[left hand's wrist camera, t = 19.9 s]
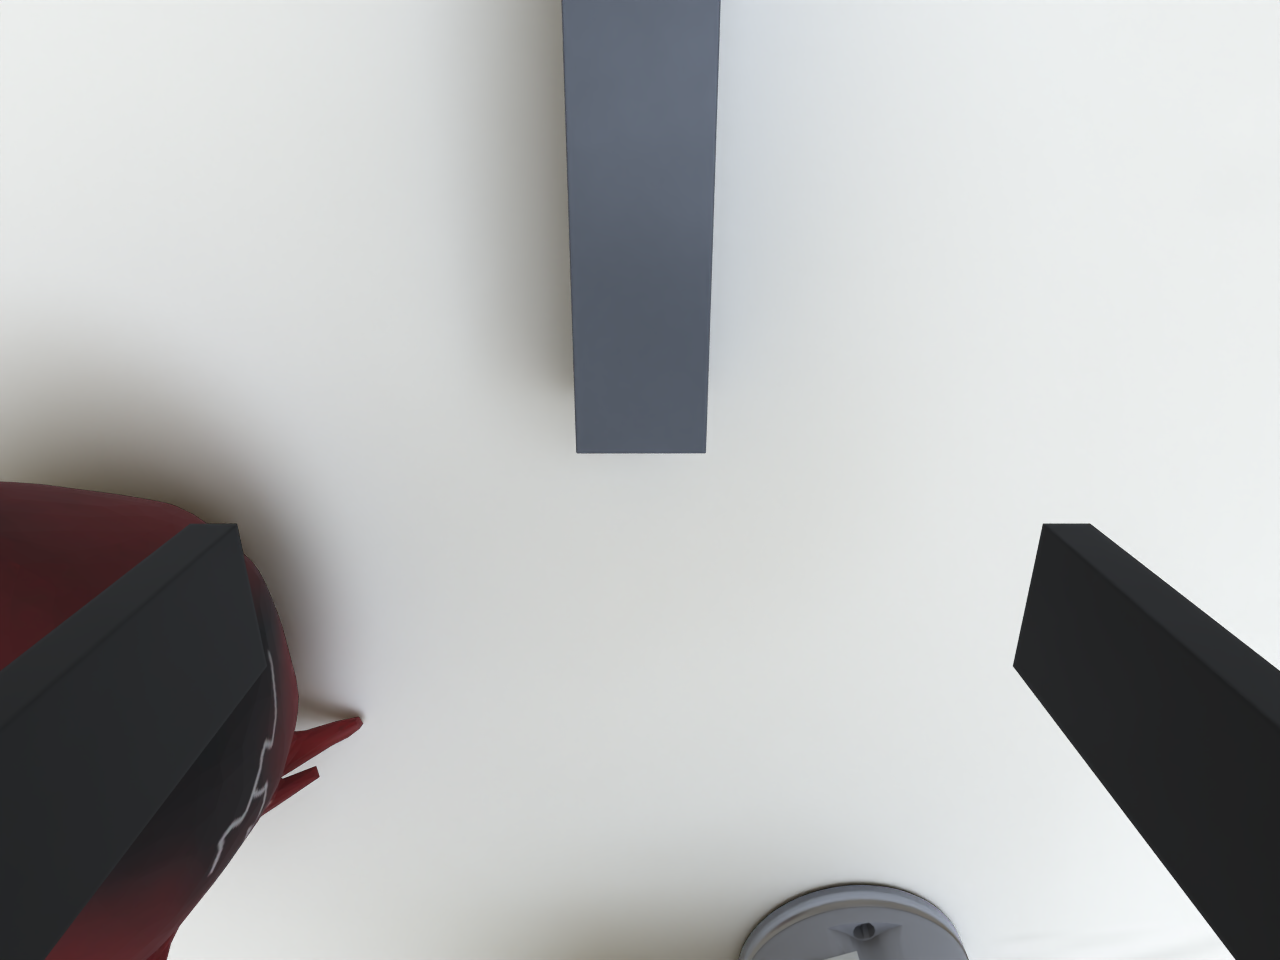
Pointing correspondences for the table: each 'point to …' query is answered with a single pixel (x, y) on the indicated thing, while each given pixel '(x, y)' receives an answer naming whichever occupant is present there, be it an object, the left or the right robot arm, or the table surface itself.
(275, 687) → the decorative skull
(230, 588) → the left robot arm
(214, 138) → the table surface
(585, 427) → the bar
